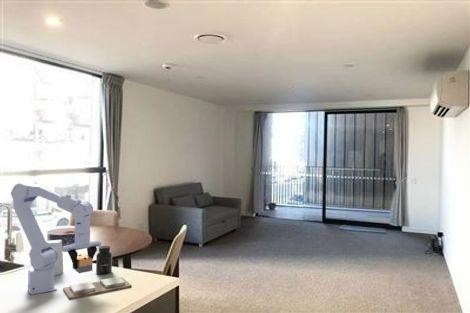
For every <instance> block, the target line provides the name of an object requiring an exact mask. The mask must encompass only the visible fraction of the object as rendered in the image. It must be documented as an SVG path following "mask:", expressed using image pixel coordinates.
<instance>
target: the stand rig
mask: <svg viewBox="0 0 470 313" xmlns="http://www.w3.org/2000/svg"><path fill="white" fill-rule="evenodd" d="M132 286H133V285H132V283H130V282H128V281H127V280H126V279H125V278H123V277H121V276H114V277H109V278H104V279H103V278H102V279H99V281H95V282H90V281H88V282H82V283H78V284H77V283H76V284H72V285H71V284H70V285H69V286H67V287H63V288H62V291H63V292H64V293H65V295H66V297H67V299H68V300H74V299H75V300H76V299H79V298H80V297H81V298H84V297H85V298H86V297H89V296H94V295H99V294H104V293H109V292H115V291H119V289H120V290H124V289H129V288H132ZM81 298H80V299H81Z"/></svg>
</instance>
